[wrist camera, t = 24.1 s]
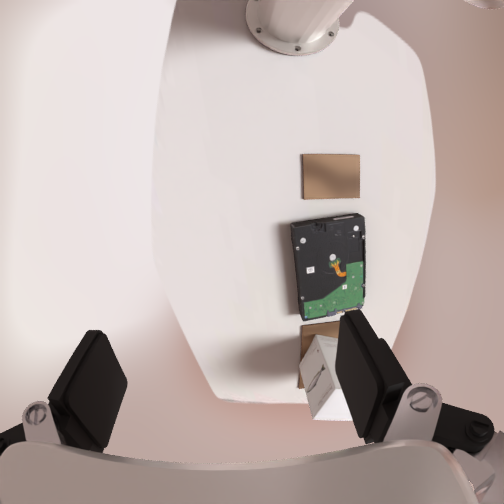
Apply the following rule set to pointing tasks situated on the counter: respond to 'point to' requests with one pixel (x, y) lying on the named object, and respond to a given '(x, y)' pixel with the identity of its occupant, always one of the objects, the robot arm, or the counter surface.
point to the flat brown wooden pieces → (328, 187)
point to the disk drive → (329, 265)
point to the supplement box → (323, 381)
